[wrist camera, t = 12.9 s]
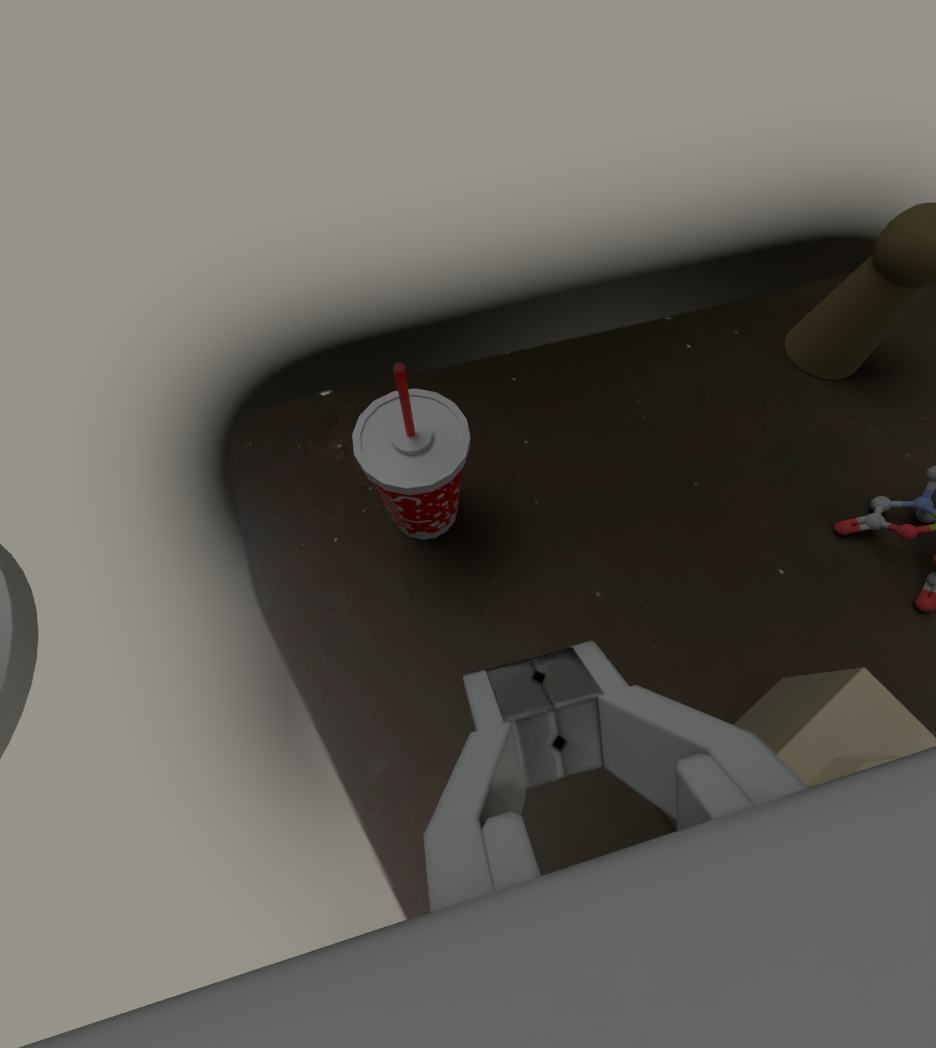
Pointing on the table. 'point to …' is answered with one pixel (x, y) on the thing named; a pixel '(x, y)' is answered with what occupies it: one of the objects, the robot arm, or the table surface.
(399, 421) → the beverage cup
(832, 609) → the table surface
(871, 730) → the button housing
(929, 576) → the molecular model
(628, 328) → the table surface
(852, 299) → the peg doll
